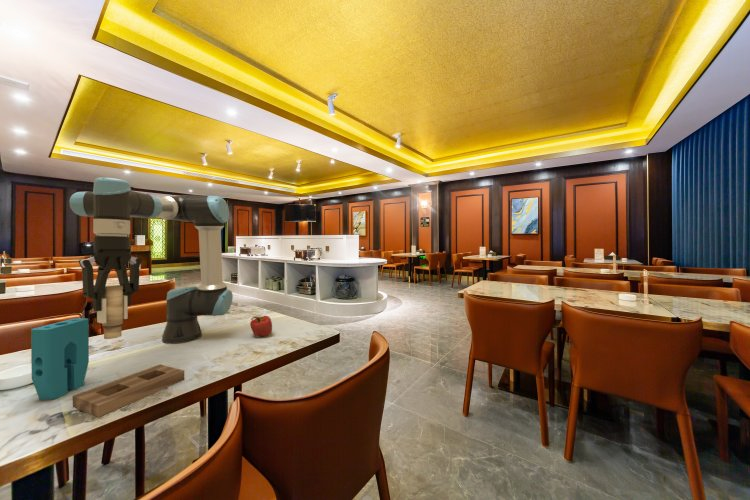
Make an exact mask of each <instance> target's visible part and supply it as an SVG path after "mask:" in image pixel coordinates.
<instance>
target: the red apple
mask: <svg viewBox="0 0 750 500" xmlns="http://www.w3.org/2000/svg"><path fill="white" fill-rule="evenodd" d="M250 320H251V321H250V322H249V323H250V328H251V330H252V334H253V336H255V338H259V337H268V336H270V335H271V333H272V331H273V322H272V319H271V317H270V316H268V315H262V316H252V317H251V318H250Z"/></svg>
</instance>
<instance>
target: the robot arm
mask: <svg viewBox="0 0 750 500" xmlns="http://www.w3.org/2000/svg"><path fill="white" fill-rule="evenodd" d="M69 207H70V209H71V210H72V212H73V213H74V214H76V215H77V216H80V217H88V218H92V217H93V220H92V221H93V224H92V225H93V234H94V235H95V236H94V237H93V254H91V257H89V258H86V259H79V260H78V265H79V266H80V269H81V273H82V275H81V278H82V296H83V297H84V298H89V299H92V310H93V311H94V312H96V322H97V323H99V324H102V323H106V298H102V297H103V294H104V290H105V286H107V281H108V279H109V275H110V273H111V272H112V270H114V272H115V273H116V276H117V280H118V283H119V284H118V285H122V286H123V320H126V319H127V320H128V313H129V312H128V311H129V309H128V307H130V306H131V305H132V303H131V302H132V297H131V296H133V295H134V294H135V293H137V292H139V290H140V269H141V268H140V266H141V264H142V261H143V259H142V257H135V256H132V254H131V251H130V250H131V238H130V236H128V235H131V218H142V219H147V220H148V219H155V218H159V219H163V220H172V221H179V222H188V223H190V222H191V223H193V226H194V227H195V229H197V230H198V242H199V243H198V244H199V245H198V246H199V262H200V264H199V267H200V280H201V281H200V284H199V285H198V286H196V285H193V286H184V287H179V288H178V287H177V288H174V289H170V290H169V291H167V293H166V324H165V328H164V330H163V334H162V336H161V341H162V343H165V344H181V343H187V342H191V341H195V340H198V339H200V338H201V337H202V335H203V332H202V328H201V326H200V323H199V320H198V316H199V317H200V316H206V317H207V316H209V317H211V316H213V317H216V316H218V317H219V316H224V315H226V314H227V313H228V312H229V310H230V309H231V306H232V304H233V296H234V295H233V292H232V291H231V290H230V289H228V286H227V284H226V283H225V282H224V279H223V278H224V276H223V274H224V273H223V272H224V271H223V256H222V255H223V254H222V253H223V251H222V233H221V231H222V229H223V228H225V224H226V223H227V222H228V221H229V220H230V219H229V218H230V209H229V205H228V204H227V202H226V200H225V199H224V198H223V197H221V196H218V195H211V194H210V195H190V194H189V195H188V194H187V195H185V194H183V195H173V196H167V195H164V196H163V195H162V196H159V197H156V196H155V195H151V194H150V193H145V192H144V193H142V192H139V191H134V190H132V187H131V184H130V182H129V181H127V180H125V179H123V178H122V179H120V178H115V177H114V178H113V177H96V178H95V179H94V181H93V189H92V191H88V190H87V191H77V192H75V193H73V194H72V195H71V196H70V198H69ZM95 264H96V265H97V276H96V279H94V267H93V266H94V265H95ZM127 264H129V275H128V273H127V272H128V268H127ZM94 280H95V281H94ZM94 282H95V283H94Z"/></svg>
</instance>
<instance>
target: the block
mask: <svg viewBox="0 0 750 500" xmlns="http://www.w3.org/2000/svg"><path fill="white" fill-rule="evenodd" d="M89 328H90V327H89V318H86V317H85V318H79V317H78V318H70V319H65V320H62V321H57V322H54V323H50V324H46V325H42V326H38V327H34V328H31V329H30V333H31V334H30V341H31V342H30V345H31V346H30V347H31V348H30V349H31V350H30V351H31V352H30V353H31V354H30V356H31V358H30V359H31V361H30V362H31V381H32V384H33V386H34V389H35V391H36V394H37V397H38V399H39V400H43V401H44V400H57V399H59V398H61V397H63V396H65V395H67V394H68V391H70V390H71V391H72V390H73V391H74V390H75V391H76V390H77V389H80V388H81V387H84V383H85V380H86V376H87V375H86V374H87V371H88V368H89V367H88V366H89V362H90V361H89V360H90V350H89V347H90V345H89V343H90V342H89V341H90V339H89V337H90V336H89V335H90V334H89V332H90V331H89Z"/></svg>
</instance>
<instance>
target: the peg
mask: <svg viewBox="0 0 750 500" xmlns="http://www.w3.org/2000/svg"><path fill="white" fill-rule="evenodd" d="M102 298H106V323H101V324H102V326H101V328H102V329H103V339H104V340H111V339H113V340H114V339H117V338H120V337H122V336H123V335H122V334H123V333H122V332H123V331H122V328H123V327H122V326H124V319H123V286H122V285H120V284H118V285H117V284H116V285H106V286H105V290H104V294H103V297H102Z"/></svg>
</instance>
